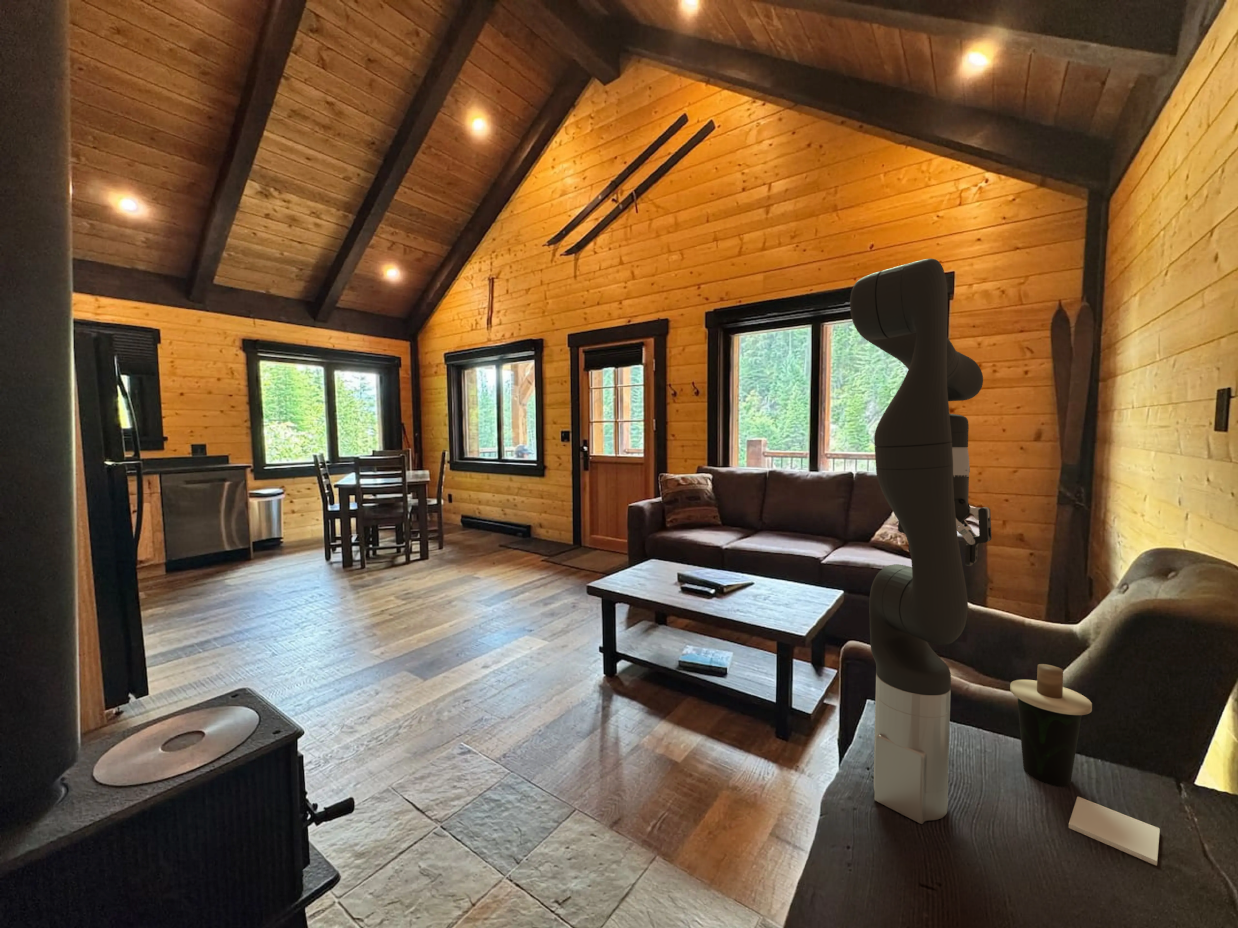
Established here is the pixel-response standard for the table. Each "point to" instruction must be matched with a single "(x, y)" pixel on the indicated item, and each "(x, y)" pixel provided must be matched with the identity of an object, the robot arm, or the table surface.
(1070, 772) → the cup
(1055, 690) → the lid
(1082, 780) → the table surface
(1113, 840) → the plate
